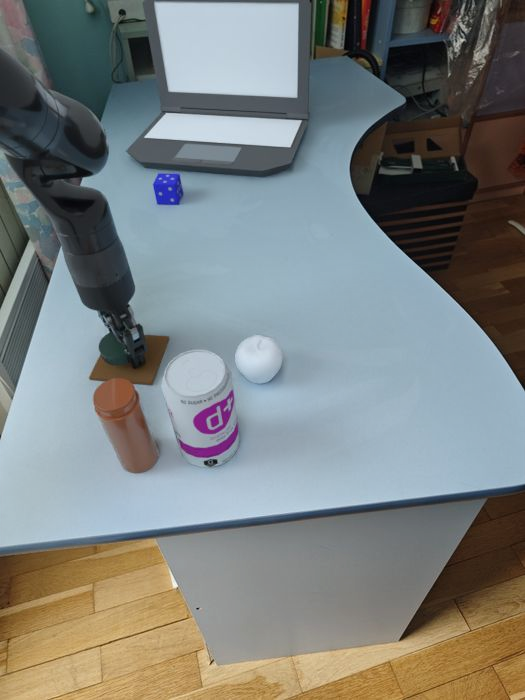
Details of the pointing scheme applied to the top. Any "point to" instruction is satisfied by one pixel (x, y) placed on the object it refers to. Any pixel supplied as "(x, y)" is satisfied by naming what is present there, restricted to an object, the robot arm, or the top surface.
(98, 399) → the jar
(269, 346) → the plain white apple
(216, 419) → the supplement can
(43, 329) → the top surface
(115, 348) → the lid
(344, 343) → the top surface
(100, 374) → the coaster
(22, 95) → the robot arm
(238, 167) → the laptop
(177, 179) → the die
